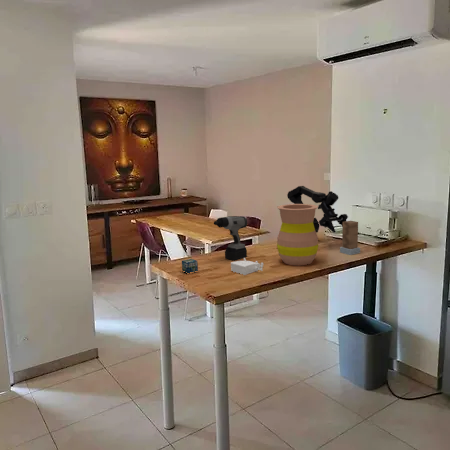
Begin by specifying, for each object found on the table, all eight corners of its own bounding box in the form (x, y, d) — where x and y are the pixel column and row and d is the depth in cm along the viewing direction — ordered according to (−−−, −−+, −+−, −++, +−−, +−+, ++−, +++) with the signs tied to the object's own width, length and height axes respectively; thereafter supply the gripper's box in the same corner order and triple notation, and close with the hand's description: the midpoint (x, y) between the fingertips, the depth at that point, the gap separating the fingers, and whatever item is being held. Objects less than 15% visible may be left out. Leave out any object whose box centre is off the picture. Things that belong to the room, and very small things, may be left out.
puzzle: (198, 272, 217) (197, 260, 216) (188, 274, 214) (187, 263, 213) (192, 269, 222) (191, 258, 221) (182, 271, 219) (181, 260, 218)
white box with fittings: (273, 276, 216) (250, 278, 205) (245, 268, 231) (223, 269, 220) (274, 260, 215) (252, 261, 204) (247, 254, 230) (224, 254, 219)
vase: (296, 269, 215) (296, 211, 210) (268, 260, 233) (267, 206, 228) (327, 262, 227) (327, 206, 222) (298, 254, 245) (298, 202, 240)
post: (342, 247, 245) (342, 221, 243) (349, 245, 248) (350, 220, 246) (349, 249, 240) (350, 223, 238) (357, 247, 243) (358, 222, 240)
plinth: (339, 252, 246) (339, 247, 246) (349, 250, 250) (349, 245, 250) (350, 255, 240) (350, 249, 239) (360, 252, 243) (360, 247, 243)
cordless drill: (211, 263, 233) (209, 218, 229) (240, 253, 251) (239, 212, 246) (221, 265, 228) (219, 219, 223) (250, 255, 246) (249, 213, 241)
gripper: (332, 216, 267) (344, 237, 260) (309, 219, 258) (321, 241, 251) (341, 205, 259) (354, 226, 252) (318, 208, 250) (331, 230, 243)
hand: (340, 231), depth 249 cm, fingers open, 9 cm apart
